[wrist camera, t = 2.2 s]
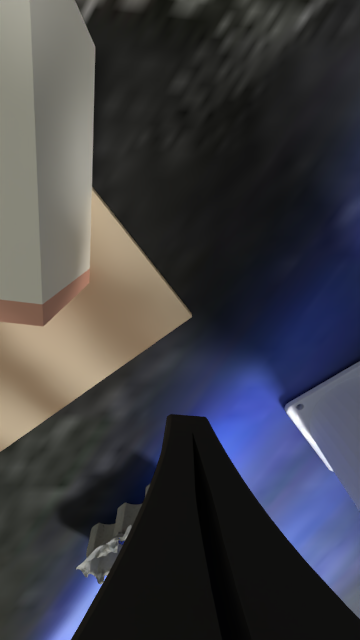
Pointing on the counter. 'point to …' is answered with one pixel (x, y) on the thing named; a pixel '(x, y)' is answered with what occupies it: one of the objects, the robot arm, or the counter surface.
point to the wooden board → (85, 330)
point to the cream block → (44, 157)
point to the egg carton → (108, 542)
